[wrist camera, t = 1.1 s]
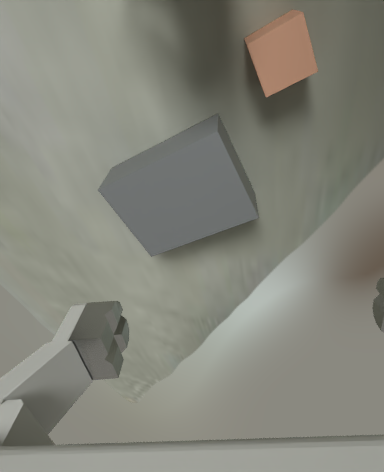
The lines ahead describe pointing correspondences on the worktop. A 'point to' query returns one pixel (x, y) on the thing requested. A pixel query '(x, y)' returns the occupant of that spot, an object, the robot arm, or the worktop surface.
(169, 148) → the stand
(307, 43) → the cube
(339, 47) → the worktop surface
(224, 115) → the worktop surface
